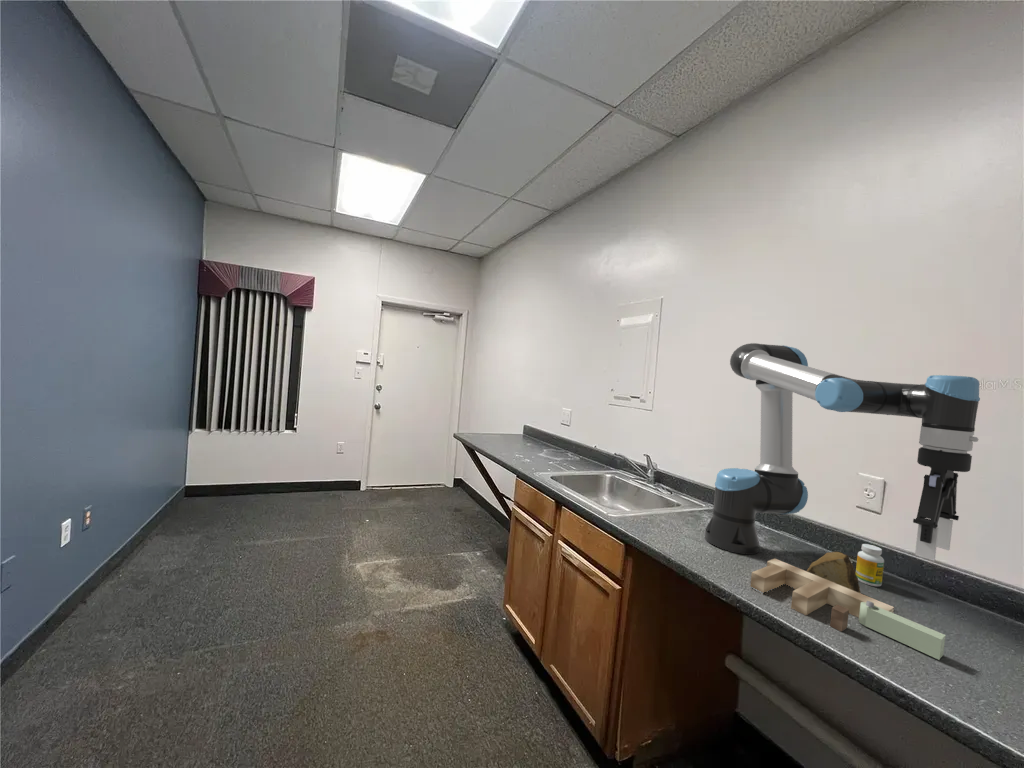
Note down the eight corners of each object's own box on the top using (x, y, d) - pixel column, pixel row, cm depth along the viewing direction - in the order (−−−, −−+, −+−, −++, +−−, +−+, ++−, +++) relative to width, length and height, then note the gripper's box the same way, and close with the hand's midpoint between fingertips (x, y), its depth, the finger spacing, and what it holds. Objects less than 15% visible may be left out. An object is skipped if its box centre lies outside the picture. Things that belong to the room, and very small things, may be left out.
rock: (792, 568, 105) (833, 583, 96) (805, 541, 108) (846, 552, 98) (816, 590, 107) (858, 607, 98) (828, 563, 110) (870, 577, 100)
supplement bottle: (858, 574, 110) (862, 541, 109) (884, 584, 105) (888, 549, 105) (851, 579, 107) (855, 544, 106) (878, 589, 102) (882, 553, 102)
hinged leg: (856, 621, 86) (858, 600, 86) (861, 618, 88) (863, 597, 87) (939, 659, 75) (942, 635, 75) (943, 655, 77) (946, 631, 77)
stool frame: (743, 584, 99) (745, 569, 99) (773, 572, 107) (774, 558, 107) (867, 645, 78) (869, 625, 78) (891, 624, 86) (894, 607, 86)
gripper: (958, 456, 73) (944, 572, 73) (983, 450, 85) (971, 550, 86) (902, 447, 79) (890, 554, 80) (934, 444, 91) (923, 536, 92)
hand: (932, 552), depth 83 cm, fingers open, 11 cm apart
